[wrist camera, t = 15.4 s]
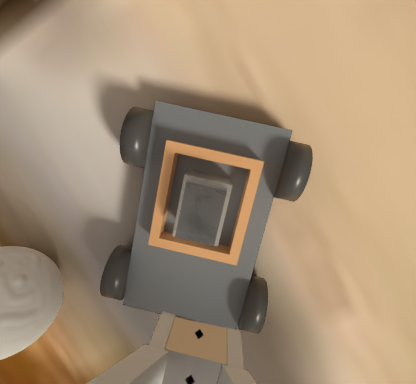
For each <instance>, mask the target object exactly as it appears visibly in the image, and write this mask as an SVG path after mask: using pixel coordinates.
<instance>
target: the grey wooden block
mask: <svg viewBox="0 0 416 384" xmlns="http://www.w3.org/2000/svg"><path fill="white" fill-rule="evenodd" d="M232 186H233V184H232V179H231V178H226V177H222V176H218V175H213V174H209V173H204V172H200V171H195V170H189V171H188V172H187V173H186V174H184V179H183V184H182V189H181V194H180V199H179V205H178V210H177V215H176V220H175V225H174V230H173V235H172V236H175V237H177V238H181V239H185V240H190V241H194V242H198V243H202V244H207V245H211V246H217V247H218V244H219V239H220V235H221V231H222V227H223V223H224V219H225V215H226V211H227V207H228V202H229V198H230V194H231V190H232Z"/></svg>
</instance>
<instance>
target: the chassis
mask: <svg viewBox="0 0 416 384" xmlns="http://www.w3.org/2000/svg"><path fill="white" fill-rule="evenodd" d="M291 134H292V130H288V129H284V128H279V127H274V126H270V125H265V124H261V123H256V122H251V121H247V120H242V119H238V118H233V117H229V116H224V115H219V114H215V113H210V112H206V111H201V110H196V109H192V108H187V107H183V106H178V105H173V104H169V103H164V102H160V101H155V108H154V111H151V110H147V109H142V108H137V107H133V108H132V109H130V111H129V112H128V113H127V115H126V117H125V120H124V122H123V126H122V130H121V135H120V153H121V157H122V160H123V162H124V163H126V164H129V165H134V166H138V167H143V168H145V170H144V176H143V183H142V189H141V195H140V202H139V208H138V214H137V220H136V227H135V233H134V239H133V245H132V247H128V246H124V245H119V246H117V247H116V248H115V249H114V251H113V252H112V254H111V255H110V257H109V259H108V261H107V264H106V266H105V269H104V272H103V275H102V279H101V285H100V292H101V295H102V296H105V297H109V298H113V299H117V300H122V299H123V298H124V302H123V305H126V306H130V307H135V308H139V309H143V310H147V311H151V312H155V313H159V314H161V313H162V312H167V313H171V314H175V315H179V316H183V317H186V318H190V319H194V320H197V321H201V322H205V323H209V324H213V325H217V326H221V327H226V328H232V329H237V325H238V328H239V329H241V330H245V331H249V332H253V333H259V332H260V331H261V329H262V327H263V324H264V321H265V316H266V311H267V302H268V288H267V282H266V280H265V279H264V278H260V277H256V276H252V272H253V269H254V265H255V262H256V258H257V254H258V251H259V247H260V244H261V240H262V237H263V233H264V230H265V226H266V223H267V219H268V215H269V212H270V208H271V205H272V201H273V198H274V197H275V198H280V199H284V200H289V201H296V200H297V199H298V198H299V197H300V196H301V194H302V192H303V191H304V189H305V186H306V184H307V181H308V178H309V175H310V171H311V166H312V149H311V147H310V145H306V144H302V143H297V142H293V141H290V138H291ZM189 170H195V171H200V172H204V173H209V174H213V175H218V176H222V177H226V178H231V179H232V184H233V186H232V190H231V194H230V198H229V202H228V207H227V211H226V215H225V219H224V223H223V227H222V231H221V235H220V239H219V244H218V247H217V246H211V245H207V244H202V243H198V242H194V241H190V240H185V239H181V238H177V237H175V236H172V235H173V230H174V225H175V220H176V215H177V210H178V205H179V199H180V194H181V189H182V184H183V179H184V174H186V173H187V172H188V171H189Z"/></svg>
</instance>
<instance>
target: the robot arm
mask: <svg viewBox="0 0 416 384" xmlns="http://www.w3.org/2000/svg"><path fill="white" fill-rule="evenodd" d="M87 384H256V382H255V381H254V379H253V378H252V376H251V375H250V373H249V372H248V371H247V370H244V367H243V354H242V341H241V332H240V330H236V329H232V328H226V327H221V326H217V325H213V324H209V323H205V322H201V321H197V320H194V319H190V318H186V317H183V316H179V315H175V314H171V313H167V312H162V313H161V315H160V317H159V320H158V322H157V325H156V327H155V330H154V332H153V335H152V338H151V340H150V343H149V345H143V346H141V347H140V348H138V349H137V350H135V351H134V352H133V353H131V354H130V355H128V356H127V357H125V358H124V359H122V360H121V361H119V362H118V363H116V364H115V365H113V366H112V367H110V368H109V369H107V370H106V371H104V372H103V373H101V374H100V375H99V376H97V377H96V378H94V379H93V380H91V381H90V382H88V383H87Z"/></svg>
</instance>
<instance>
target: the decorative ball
mask: <svg viewBox="0 0 416 384" xmlns="http://www.w3.org/2000/svg"><path fill="white" fill-rule="evenodd" d="M63 295H64V283H63V278H62V275H61V272H60V270H59V269H58V267H57V265H56V264H55V263H54V262H53V261H52V260H51V259H50V258H49V257H48V256H46V255H45V254H43V253H41V252H39V251H37V250H34V249H31V248H27V247H20V246H4V247H0V360H1V359H4V358H7V357H9V356H12V355H14V354H16V353H18V352H20V351H21V350H23V349H25V348H26V347H28V346H29V345H31V344H32V343H33V342H35V341H36V340H37V339H38V338H39V337H40V336H41V335H42V334H43V333H44V332H45V331H46V330H47V329H48V328H49V326H50V325H51V324H52V322H53V321H54V319H55V318H56V316H57V314H58V312H59V310H60V307H61V304H62V300H63Z"/></svg>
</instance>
